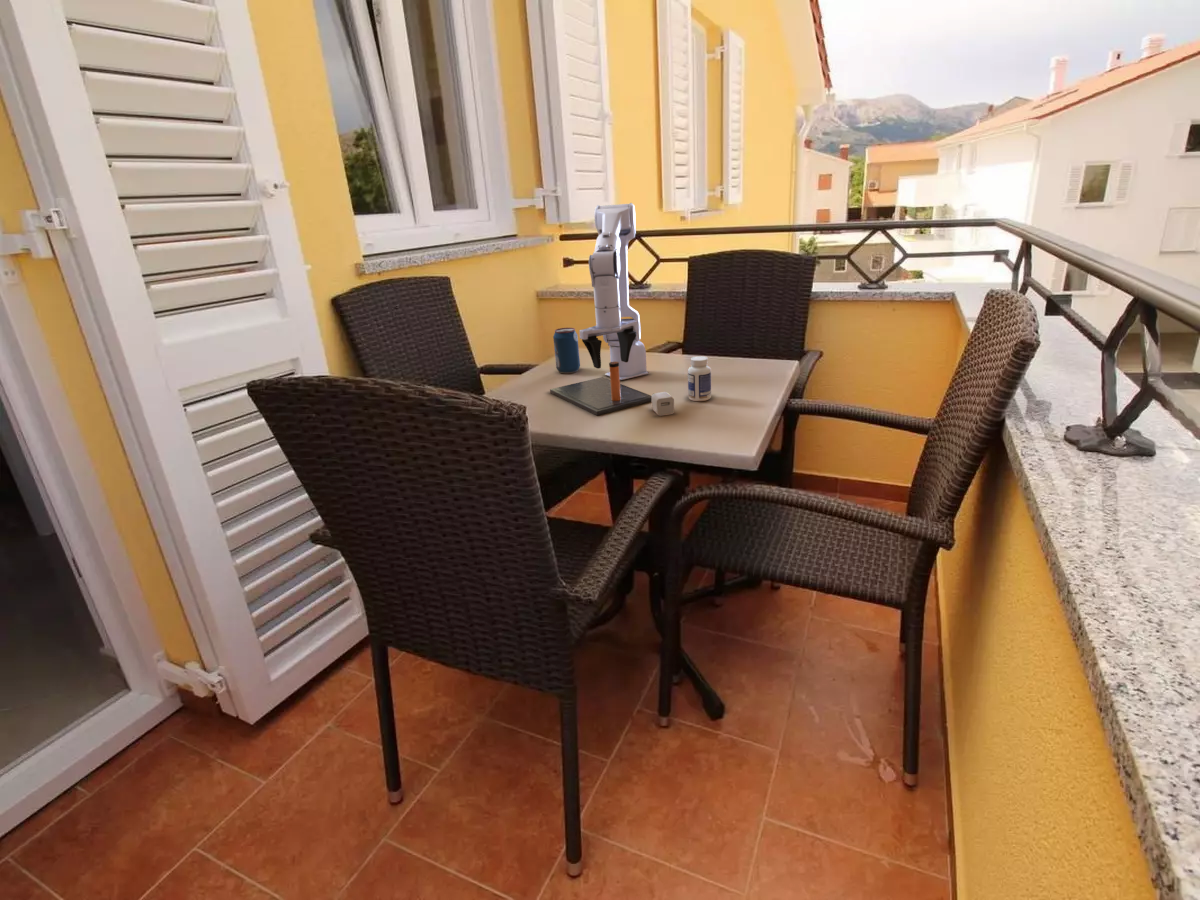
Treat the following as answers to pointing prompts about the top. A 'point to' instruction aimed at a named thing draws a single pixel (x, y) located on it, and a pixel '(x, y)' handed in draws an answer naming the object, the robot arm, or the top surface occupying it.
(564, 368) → the soda can
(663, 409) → the usb wall charger
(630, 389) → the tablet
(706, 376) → the pill bottle
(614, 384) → the orange marker
